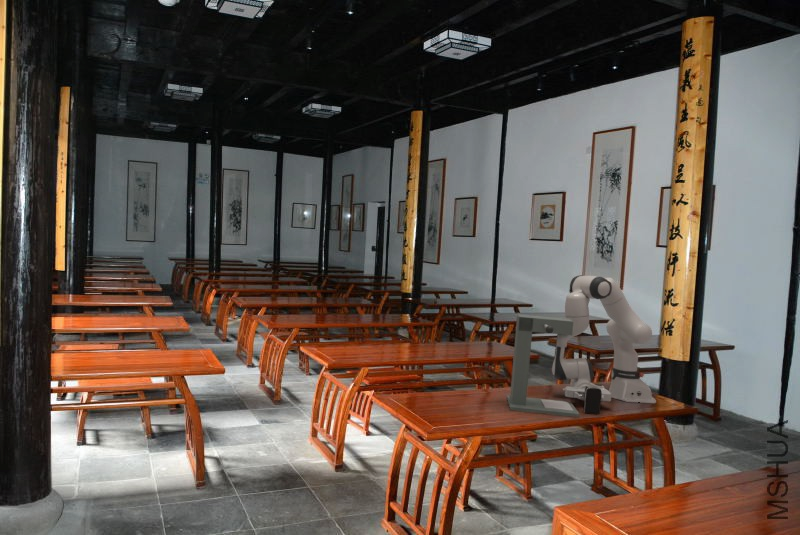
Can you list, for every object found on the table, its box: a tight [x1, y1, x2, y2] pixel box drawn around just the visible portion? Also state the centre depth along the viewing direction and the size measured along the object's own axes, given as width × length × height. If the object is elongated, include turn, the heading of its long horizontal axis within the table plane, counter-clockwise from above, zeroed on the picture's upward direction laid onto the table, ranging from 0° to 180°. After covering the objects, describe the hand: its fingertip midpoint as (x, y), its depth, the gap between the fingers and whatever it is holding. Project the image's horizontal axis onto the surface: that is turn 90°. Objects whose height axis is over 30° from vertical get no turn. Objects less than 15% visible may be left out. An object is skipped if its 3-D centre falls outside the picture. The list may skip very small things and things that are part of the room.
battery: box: [583, 387, 602, 415], centre depth 259 cm, size 7×4×11 cm, turn 91°
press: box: [506, 313, 580, 418], centre depth 257 cm, size 29×28×40 cm
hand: (590, 398), depth 260 cm, fingers open, 8 cm apart
